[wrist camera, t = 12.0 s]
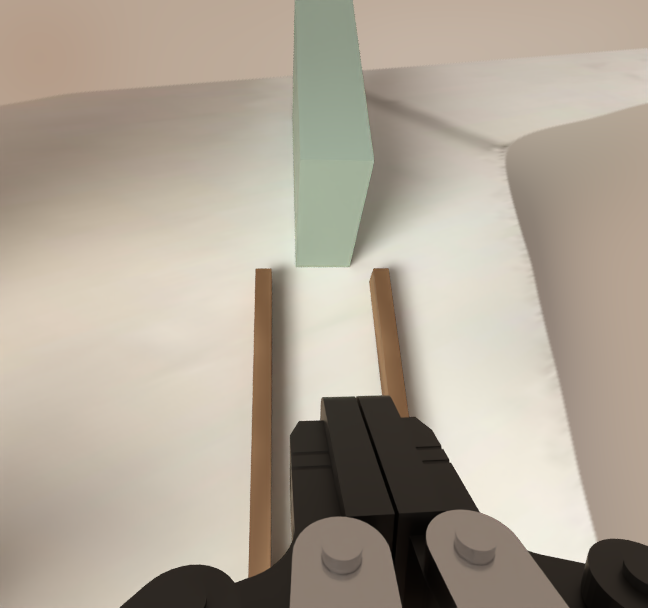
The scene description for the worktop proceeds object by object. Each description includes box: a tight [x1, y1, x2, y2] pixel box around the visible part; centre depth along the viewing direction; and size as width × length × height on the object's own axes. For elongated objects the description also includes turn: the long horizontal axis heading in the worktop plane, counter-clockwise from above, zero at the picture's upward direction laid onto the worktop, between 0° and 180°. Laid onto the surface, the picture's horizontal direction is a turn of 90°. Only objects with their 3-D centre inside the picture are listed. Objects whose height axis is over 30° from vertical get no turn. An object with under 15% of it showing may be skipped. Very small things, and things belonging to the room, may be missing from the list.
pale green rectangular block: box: [292, 0, 374, 267], centre depth 37 cm, size 4×18×12 cm, turn 3°
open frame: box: [248, 268, 409, 578], centre depth 31 cm, size 10×22×2 cm, turn 3°
